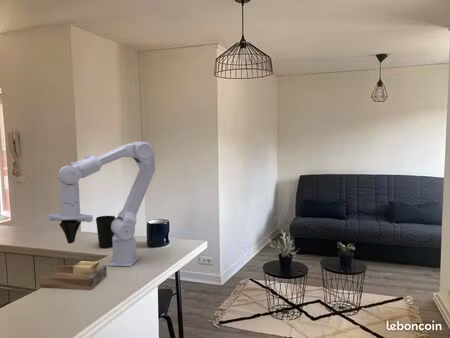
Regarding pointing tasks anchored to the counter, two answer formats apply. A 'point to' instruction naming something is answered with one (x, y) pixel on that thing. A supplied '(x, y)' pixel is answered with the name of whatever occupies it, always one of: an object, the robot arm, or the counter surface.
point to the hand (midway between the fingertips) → (71, 242)
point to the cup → (105, 231)
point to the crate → (85, 269)
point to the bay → (72, 279)
